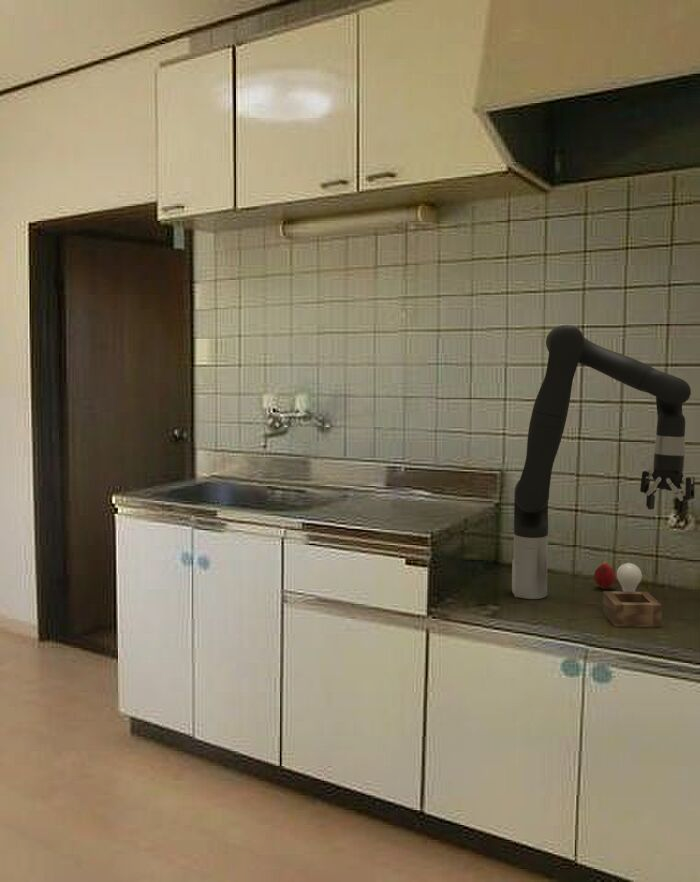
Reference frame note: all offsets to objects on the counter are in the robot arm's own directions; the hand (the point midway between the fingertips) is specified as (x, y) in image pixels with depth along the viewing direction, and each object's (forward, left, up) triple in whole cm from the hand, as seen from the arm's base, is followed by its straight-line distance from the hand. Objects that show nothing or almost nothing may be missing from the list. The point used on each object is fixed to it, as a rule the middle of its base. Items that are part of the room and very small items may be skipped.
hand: (665, 511), depth 213 cm
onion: (-14, +8, -24) cm, 29 cm away
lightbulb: (-11, -5, -24) cm, 27 cm away
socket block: (-14, -18, -24) cm, 33 cm away
